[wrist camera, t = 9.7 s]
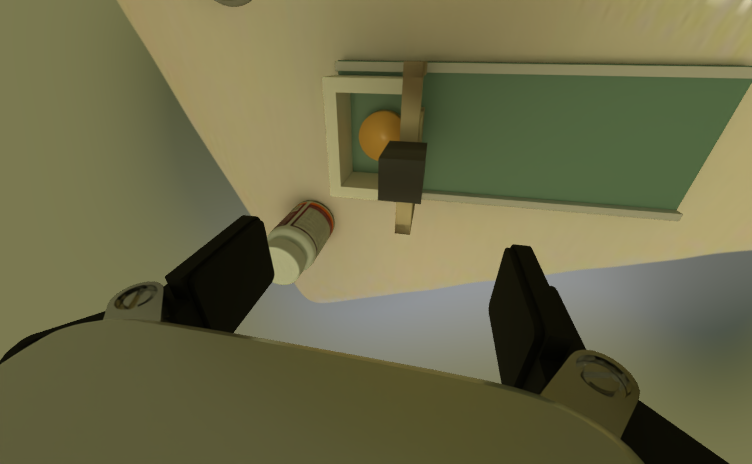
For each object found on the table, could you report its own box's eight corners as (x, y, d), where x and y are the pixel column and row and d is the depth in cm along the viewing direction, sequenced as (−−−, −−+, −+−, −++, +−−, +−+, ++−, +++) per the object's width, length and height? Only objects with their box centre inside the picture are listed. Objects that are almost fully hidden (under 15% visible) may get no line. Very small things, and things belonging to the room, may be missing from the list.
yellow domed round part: (359, 112, 32) (354, 115, 30) (405, 106, 30) (403, 108, 29) (367, 158, 34) (363, 163, 32) (409, 154, 33) (408, 158, 31)
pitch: (342, 60, 31) (320, 59, 25) (745, 65, 25) (831, 66, 20) (347, 185, 38) (331, 207, 32) (662, 211, 32) (708, 242, 27)
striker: (404, 61, 28) (380, 60, 16) (436, 61, 27) (434, 61, 16) (397, 196, 35) (376, 263, 23) (422, 198, 35) (414, 267, 23)
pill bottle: (296, 235, 43) (255, 284, 34) (291, 197, 40) (245, 239, 31) (336, 240, 42) (305, 293, 33) (334, 202, 39) (300, 247, 30)
